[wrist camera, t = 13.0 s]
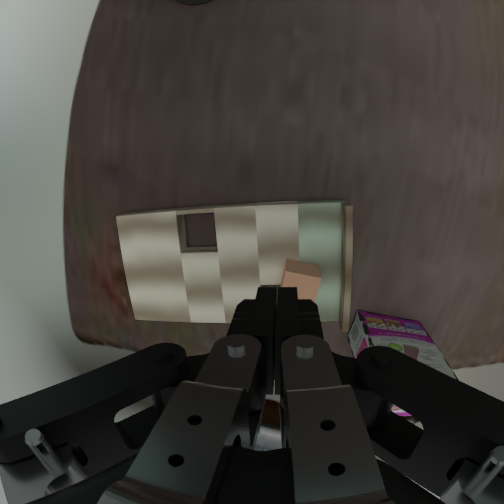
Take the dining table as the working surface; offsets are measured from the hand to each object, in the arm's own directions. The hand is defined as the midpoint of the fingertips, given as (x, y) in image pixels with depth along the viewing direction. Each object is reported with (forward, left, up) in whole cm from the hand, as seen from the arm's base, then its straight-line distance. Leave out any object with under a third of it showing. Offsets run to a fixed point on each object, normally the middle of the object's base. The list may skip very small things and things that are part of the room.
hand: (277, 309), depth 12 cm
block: (+8, +1, -25) cm, 26 cm away
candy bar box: (+18, +14, -28) cm, 37 cm away
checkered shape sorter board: (+7, -8, -28) cm, 30 cm away
